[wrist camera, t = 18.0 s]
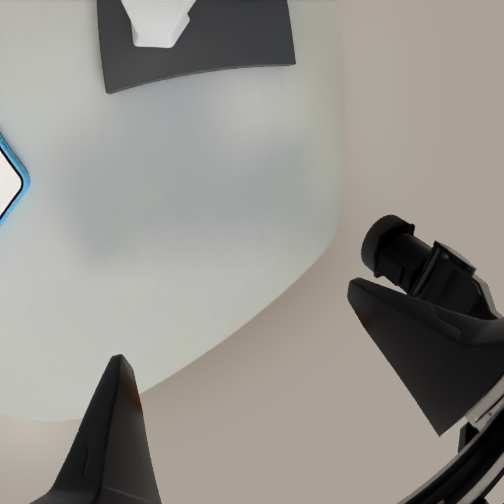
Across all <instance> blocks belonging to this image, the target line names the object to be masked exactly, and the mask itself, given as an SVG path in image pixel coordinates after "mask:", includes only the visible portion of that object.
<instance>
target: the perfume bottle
mask: <svg viewBox="0 0 504 504" xmlns="http://www.w3.org/2000/svg"><path fill="white" fill-rule="evenodd" d="M121 1H122V4H123V6H124V8H125V10H126V12H127V14H128V16H129V18H130V20H131V26H132V35H133V43H134V45H135V46H138V47H162V48H171V47H173V46H174V44H175V43H176V41H177V39H178V38H179V36H180V35H181V33H182V32H183V30H184V29H185V27H186V26H187V24H188V23H189V21H190V18H189V16H188V14H187V13H188V12H189V10H190V8H191V7H192V5H193V4H194V3H195V1H196V0H121Z"/></svg>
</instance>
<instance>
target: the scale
mask: <svg viewBox="0 0 504 504" xmlns="http://www.w3.org/2000/svg"><path fill="white" fill-rule="evenodd" d="M97 13H98V29H99V41H100V51H101V60H102V68H103V75H104V82H105V88H106V93H108V94H112V93H115V92H118V91H122V90H125V89H129V88H132V87H136V86H140V85H143V84H147V83H152V82H156V81H160V80H165V79H169V78H174V77H179V76H185V75H191V74H197V73H203V72H210V71H218V70H226V69H236V68H248V67H265V66H290V65H295V64H296V61H295V53H294V45H293V37H292V30H291V23H290V16H289V10H288V4H287V0H196V1H195V3H194V4H193V5H192V7H191V8H190V10H189V12H188V13H187V14H188V16H189V18H190V21H189V23H188V24H187V26H186V27H185V29H184V30H183V32H182V33H181V35H180V36H179V38H178V39H177V41H176V43H175V44H174V46H173V47H171V48H162V47H138V46H135V45H134V43H133V35H132V26H131V20H130V18H129V16H128V14H127V12H126V10H125V8H124V6H123V4H122V1H121V0H97Z"/></svg>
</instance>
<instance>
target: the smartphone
mask: <svg viewBox="0 0 504 504" xmlns="http://www.w3.org/2000/svg"><path fill="white" fill-rule="evenodd" d="M29 182H30V179H29V174H28V172H27V171H26V169H25V168H24V167H23V165H22V164H21V163H20V161H19V160H18V158H17V157H16V156H15V154H14V153H13V152H12V150H11V149H10V147H9V146H8V144H7V143H6V142H5V140H4V139H3V137H2V136H1V134H0V226H1V224H2V223H3V221H4V220H5V218H6V217H7V215H8V214H9V213H10V211H11V210H12V209H13V207H14V206H15V204H16V203H17V202H18V200H19V199H20V198H21V197H22V195H23V194H24V193H25V192H26V190H27V189H28V186H29Z"/></svg>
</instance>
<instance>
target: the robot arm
mask: <svg viewBox="0 0 504 504" xmlns="http://www.w3.org/2000/svg"><path fill="white" fill-rule="evenodd" d="M414 231H415V225H414V224H412V223H411V224H408V225H405V226H402V227H399V228H397V229H394V230H391V231H388V232H385V233H382V234H381V235H380V238H379V245H378V252H377V258H376V264H375V270H374V277H375V278H379V277H381V276H385V277H386V278H387V279H388V280H390V281H391V282H392V283H393V284H394V285H395V286H399V287H400V288H401V289H403V290H404V291H405V292H406V293H407V295H406V294H403V293H401V292H398V291H395V290H392V289H390V288H387V287H384V286H381V285H379V284H375V283H373V282H370V281H368V280H365V279H362V278H355V279H353V280H351V281H350V282H349V287H348V294H347V298H348V301H349V303H350V304H351V306H352V308H353V309H354V311H355V313H356V315H357V316H358V318H359V320H360V321H361V323H362V325H363V326H364V328H365V329H366V331H367V332H368V334H369V335H370V337H371V338H372V339H373V341H374V342H375V343H376V345H377V346H378V347H379V349H380V350H381V352H382V353H383V354H384V356H385V357H386V359H387V360H388V362H389V363H390V364H391V366H392V367H393V368H394V370H395V371H396V373H397V374H398V376H399V377H400V379H401V380H402V381H403V383H404V384H405V386H406V387H407V388H408V390H409V392H410V393H411V394H412V396H413V398H414V399H415V400H416V402H417V404H418V405H419V407H420V408H421V410H422V411H423V413H424V414H425V416H426V417H427V419H428V420H429V422H430V423H431V425H432V426H433V428H434V430H435V431H436V432H437V434H438V435H439V437H441V436H442V435H443V434H445V433H446V432H447V431H448V430H449V429H451V428H452V427H453V426H454V425H455V424H456V423H457V422H459V421H460V420H461V419H462V418H463V417H464V416H465V417H466V418H467V420H468V422H467V423H466V424H465V425H464V426H463V427H462V428H461V429H460V438H459V447H458V454H457V455H456V456H455V457H454V458H453V459H452V460H451V461H450V462H449V463H448V464H447V465H446V466H445V467H443V468H442V469H441V470H440V471H439V472H438V473H437V474H435V475H434V476H433V477H432V478H431V479H429V480H428V481H427V482H426V483H424V484H423V485H422V486H421V487H419V488H418V489H417V490H416V491H414V492H413V493H412V494H410V495H409V496H407V497H406V498H404V499H403V500H402V501H400V502H399V503H397V504H489V503H488V502H487V501H486V499H484V497H485V496H486V495H487V494H488V493H489V492H490V491H491V490H492V488H493V487H494V486H495V485H496V484H497V482H498V481H499V480H500V479H501V478H502V476H503V475H504V317H503V316H502V315H501V314H499V313H498V312H497V311H496V309H495V305H494V302H493V299H492V296H491V293H490V291H489V287H488V285H487V284H486V283H485V282H484V281H483V280H482V279H480V278H479V277H478V276H477V275H475V274H474V273H475V271H476V268H475V267H474V266H473V265H472V264H471V263H470V262H469V261H468V260H467V259H465V258H464V257H463V256H462V255H461V254H459V253H458V252H456V251H455V250H453V249H451V248H450V247H448V246H446V245H444V244H442V243H440V242H437V241H435V242H434V244H433V245H434V246H433V248H431V247H430V246H428V245H427V244H425V243H424V242H422V241H421V240H419V239H418V238H416V237H415V236H414ZM30 504H162V503H161V499H160V496H159V492H158V488H157V484H156V480H155V476H154V472H153V467H152V462H151V458H150V453H149V447H148V442H147V436H146V431H145V425H144V418H143V411H142V406H141V402H140V398H139V394H138V389H137V385H136V381H135V376H134V372H133V369H132V367H131V365H130V364H129V363H128V361H127V360H126V358H125V357H124V356H123V355H122V354H119V355H115V356H112V357H111V359H110V361H109V363H108V365H107V367H106V369H105V371H104V373H103V375H102V377H101V380H100V382H99V384H98V386H97V388H96V390H95V393H94V395H93V397H92V399H91V401H90V404H89V406H88V408H87V411H86V413H85V415H84V418H83V420H82V423H81V425H80V427H79V430H78V432H77V434H76V437H75V439H74V442H73V444H72V447H71V449H70V451H69V453H68V455H67V458H66V460H65V462H64V464H63V466H62V468H61V470H60V472H59V474H58V476H57V478H56V480H55V483H54V484H53V486H52V488H51V489H50V490H49V492H47V493H46V494H45V495H43V496H42V497H40V498H38V499H37V500H35V501H33V502H31V503H30ZM503 504H504V503H503Z"/></svg>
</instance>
